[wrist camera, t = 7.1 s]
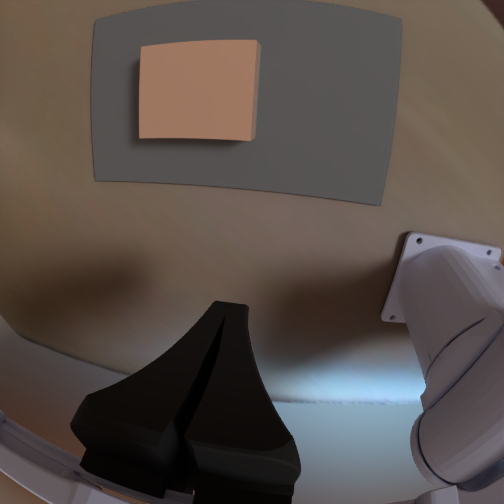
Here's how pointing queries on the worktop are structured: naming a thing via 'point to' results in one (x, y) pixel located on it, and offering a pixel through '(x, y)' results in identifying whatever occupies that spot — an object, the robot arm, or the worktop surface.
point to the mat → (260, 98)
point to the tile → (199, 89)
